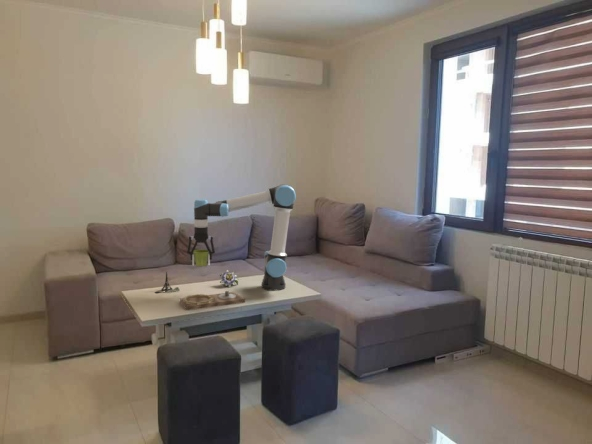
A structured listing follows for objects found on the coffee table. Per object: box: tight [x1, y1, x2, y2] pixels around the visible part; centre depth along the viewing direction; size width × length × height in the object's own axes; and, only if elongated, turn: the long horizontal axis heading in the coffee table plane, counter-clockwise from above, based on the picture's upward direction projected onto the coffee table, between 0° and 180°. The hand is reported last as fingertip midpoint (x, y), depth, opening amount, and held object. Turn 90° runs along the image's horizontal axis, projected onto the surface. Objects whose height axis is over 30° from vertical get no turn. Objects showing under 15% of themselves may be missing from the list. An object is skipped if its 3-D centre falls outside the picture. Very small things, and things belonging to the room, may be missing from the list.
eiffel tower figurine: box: [160, 270, 180, 294], centre depth 276 cm, size 15×10×13 cm
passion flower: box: [219, 269, 239, 288], centre depth 290 cm, size 11×11×12 cm
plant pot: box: [193, 249, 209, 268], centre depth 267 cm, size 9×9×9 cm
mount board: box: [179, 290, 246, 311], centre depth 254 cm, size 32×16×5 cm, turn 119°
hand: (201, 265), depth 267 cm, fingers closed on plant pot, 8 cm apart
